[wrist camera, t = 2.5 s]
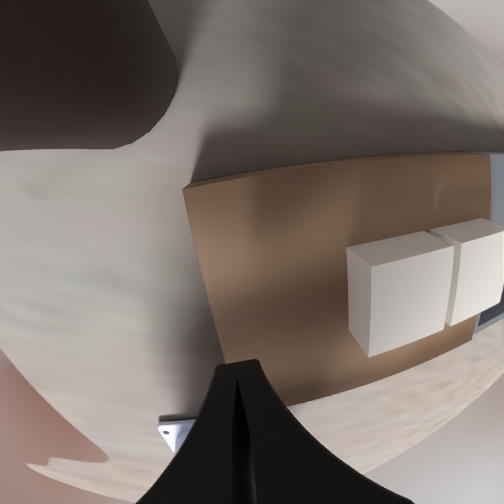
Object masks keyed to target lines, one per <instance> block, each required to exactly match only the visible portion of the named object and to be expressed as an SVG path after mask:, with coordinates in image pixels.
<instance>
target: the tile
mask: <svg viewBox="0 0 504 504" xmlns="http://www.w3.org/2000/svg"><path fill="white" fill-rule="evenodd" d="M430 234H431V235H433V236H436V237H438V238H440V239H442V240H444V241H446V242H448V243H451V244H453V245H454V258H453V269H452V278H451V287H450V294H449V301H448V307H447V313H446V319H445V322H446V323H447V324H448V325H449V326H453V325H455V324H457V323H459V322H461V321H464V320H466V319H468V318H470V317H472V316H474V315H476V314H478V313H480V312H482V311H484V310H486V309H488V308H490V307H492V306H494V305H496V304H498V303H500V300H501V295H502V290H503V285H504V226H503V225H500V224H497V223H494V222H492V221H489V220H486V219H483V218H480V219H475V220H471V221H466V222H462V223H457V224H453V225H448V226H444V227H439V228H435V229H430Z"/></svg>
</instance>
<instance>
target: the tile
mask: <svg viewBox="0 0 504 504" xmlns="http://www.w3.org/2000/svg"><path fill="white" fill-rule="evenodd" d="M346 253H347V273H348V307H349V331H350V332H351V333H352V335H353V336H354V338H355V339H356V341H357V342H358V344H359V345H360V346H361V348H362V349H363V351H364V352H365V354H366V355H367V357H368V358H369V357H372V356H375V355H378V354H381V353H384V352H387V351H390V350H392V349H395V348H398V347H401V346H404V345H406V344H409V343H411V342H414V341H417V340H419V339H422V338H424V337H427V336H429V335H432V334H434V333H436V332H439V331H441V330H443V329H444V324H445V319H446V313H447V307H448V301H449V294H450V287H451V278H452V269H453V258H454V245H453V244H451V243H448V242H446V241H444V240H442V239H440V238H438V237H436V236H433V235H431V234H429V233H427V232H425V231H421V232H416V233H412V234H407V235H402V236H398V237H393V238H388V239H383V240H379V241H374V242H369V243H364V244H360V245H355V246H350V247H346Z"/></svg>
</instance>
